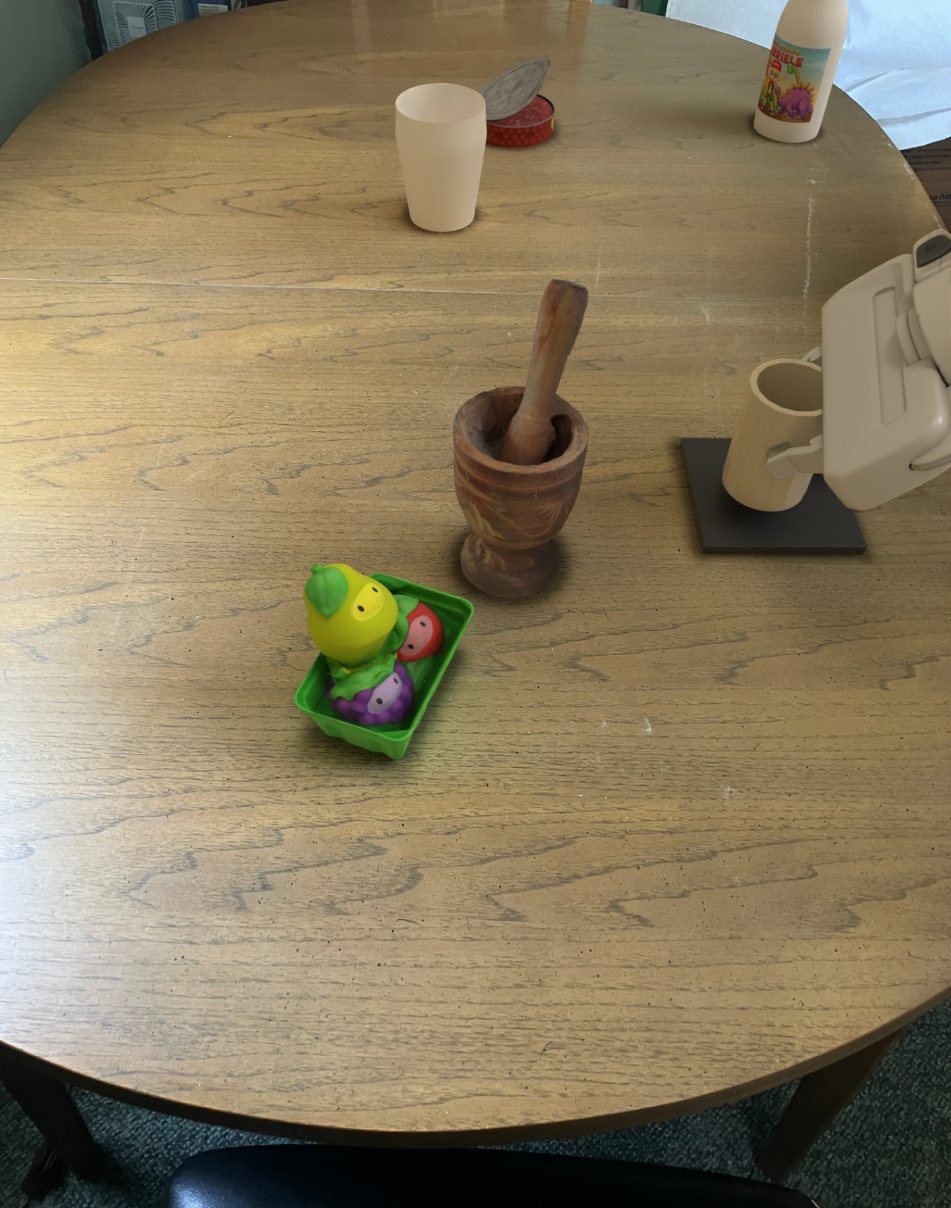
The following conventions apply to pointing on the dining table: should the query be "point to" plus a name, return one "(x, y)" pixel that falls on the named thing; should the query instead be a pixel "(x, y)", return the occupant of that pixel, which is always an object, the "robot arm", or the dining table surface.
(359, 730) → the fruit basket
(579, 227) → the dining table surface
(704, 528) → the scale
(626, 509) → the dining table surface
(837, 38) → the milk bottle
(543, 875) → the dining table surface
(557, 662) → the dining table surface
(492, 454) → the mortar and pestle
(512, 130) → the canned food
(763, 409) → the tan hollow cylinder
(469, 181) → the cup
